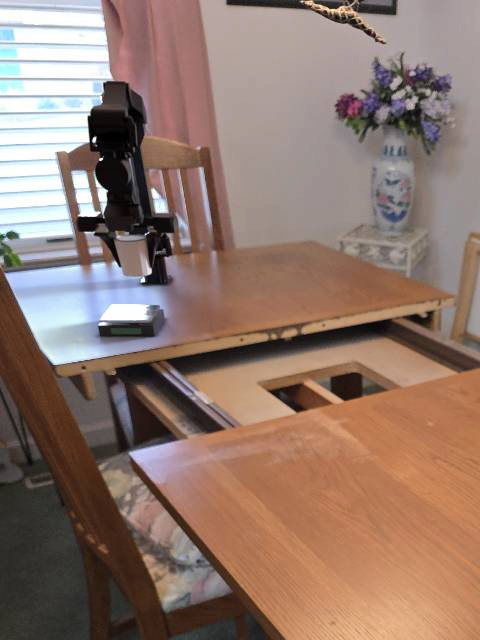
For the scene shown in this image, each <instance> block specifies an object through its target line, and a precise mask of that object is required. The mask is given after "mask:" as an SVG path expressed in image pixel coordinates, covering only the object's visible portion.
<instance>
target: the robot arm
mask: <svg viewBox="0 0 480 640" xmlns="http://www.w3.org/2000/svg"><path fill="white" fill-rule="evenodd" d="M102 89H103V92H102V93H101V94H100V101H101V104H98V105H94V106H92V108H91V109H90V111H89V115H87V120H86V121H87V130H88V140H89V141H88V142H89V151H90V153H99V160H98V162H97V163H96V165H95V168H94V175H95V179H96V181H97V182H98V185H99V186H101V188H103V189H104V190H106V205H105V207H104V210H103V212H102V211H83V212H82V213H80V214H78V215H77V217H76V218H75V225H76V230H77V232H78V233H92V234H93V237H97V238H100V239H101V241H102V242H104V244H105V245H106V247H107V248H108V250H109V252H110V254H111V255H112V257H113V259H114V260H115V263H116V264H117V266H118V268H119V269H122V268H121V264H120V260H119V257H118V254H117V250H116V247H115V243H114V240H113V239H114V238H115V237H118V235H117V232H124V233H128V235H145V236H146V238H147V243H148V257H149V264H150V268H151V270H152V273H151V274H149V275H146V276H143V278H142V279H141V280H140V284H141V285H168V284H169V282H170V281H171V279H172V275H170V274H168V270H167V263H166V258H170V257H171V256H173V248H172V244H171V239H170V236H169V235H168V234H174V233H176V232H177V231H178V229H179V228H180V226H179V218H178V216H177V215H176V214H175V213H173V212H169V213H168V212H157V213H155V211H154V210H153V205H152V198H151V192H150V188H149V181H148V175H147V171H146V170H147V169H146V165H145V159H144V158H145V157H144V153H143V148H142V143H143V140H144V138H145V135H146V130H147V129H146V128H147V127H146V125H148V115H147V110H146V105H145V102H144V99H143V97H142V95H140V94H139V93H137V92H136V91H135V90H133V88H132V87H131V84H130V82H127V81H125V80H122V81H121V80H106V81H103V82H102Z"/></svg>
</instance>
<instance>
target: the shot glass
mask: <svg viewBox="0 0 480 640" xmlns="http://www.w3.org/2000/svg"><path fill="white" fill-rule="evenodd" d="M113 240H114V243H115V247H116V250H117V254H118V257H119V260H120V264H121V268H120V269H121V272H122V274H123V276H126V277H131V278H137V277H138V278H139V277H140V278H141V277H144V276H146V275H149V274H151V273H152V270H151V268H150V264H149V257H148V243H147V238H146V236H145V235H129V234H123V235H117V237H115V238H114V239H113Z"/></svg>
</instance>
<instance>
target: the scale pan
mask: <svg viewBox="0 0 480 640" xmlns="http://www.w3.org/2000/svg"><path fill="white" fill-rule="evenodd" d="M159 309H161V306H160V304H111V305H110V306H109V308H108V309H107V310H106V312H105V313H104V314H103V315H102V317H100V319H99V323H100V322H101V323H151V321H152V320H153V318H154V317H155V315H156V313H157V312H158V310H159Z"/></svg>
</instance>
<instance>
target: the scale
mask: <svg viewBox="0 0 480 640" xmlns="http://www.w3.org/2000/svg"><path fill="white" fill-rule="evenodd" d="M165 320H166V318H165V312H164V309H163V308H160V309H159V310H158V312H157V313H156V315H155V317H154V318H153V320H152V321H151V323H101V322H100V321H99V323H98V325H97V328H98V333H99V336H100V337H156V335H157V333H158V331H159V330H160V328H161V326H162V325H163V323H164V322H165Z"/></svg>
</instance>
